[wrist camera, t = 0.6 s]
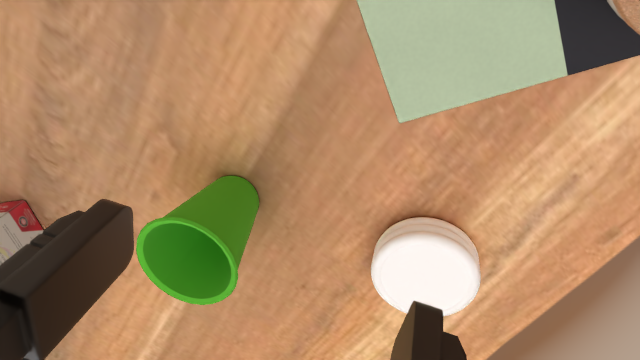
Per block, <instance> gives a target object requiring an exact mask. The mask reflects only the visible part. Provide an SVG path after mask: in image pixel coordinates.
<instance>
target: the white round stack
mask: <svg viewBox="0 0 640 360" xmlns="http://www.w3.org/2000/svg"><path fill="white" fill-rule="evenodd" d="M371 277H372V281H373V284H374V287H375V288H376V290H377V292H378V293H379V294H380V296H381V297H382V298H383V299H384V300H385V301H386V302H387V303H389V304H390V305H391V306H393V307H395V308H396V309H398V310H400V311H402V312H405V313H408V311H409V309H410V306H411V304H412V303H413V301H417V302H421V303H424V304H427V305H430V306H433V307H436V308H439V309H442V311H443V316H447V315H451V314H453V313H456V312H458V311H460V310H462V309H463V308H465V307H466V306H467V305H468V304H469V303H470V302H471V301H472V300H473V299H474V297H475V296H476V294H477V292H478V290H479V286H480V282H481V274H480V264H479V256H478V252H477V250H476V247H475V245H474V244H473V242H472V241H471V239H470V238H469V237H468V236H467V235H466V234H465V233H464V232H463V231H462V230H461V229H459V228H457V227H456V226H454V225H452V224H450V223H448V222H445V221H443V220H439V219H435V218H428V217H417V218H410V219H406V220H403V221H400V222H398V223H396V224H394V225H392V226H391V227H389V228H388V229H387V230H386V231H385V232H384V233H383V234H382V235H381V237H380V238H379V240H378V242H377V244H376V246H375V250H374V255H373V260H372V264H371Z"/></svg>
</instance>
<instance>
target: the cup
mask: <svg viewBox="0 0 640 360" xmlns="http://www.w3.org/2000/svg"><path fill="white" fill-rule="evenodd" d="M258 208H259V197H258V194H257V191H256V190H255V188H254V187H253V186H252V184H251V183H249V182H248V181H247V180H245V179H243V178H241V177H238V176H224V177H221V178H219V179H217V180H216V181H214V182H213V183H211V184H210V185H208V186H207V187H206V188H204V189H203V190H201V191H200V192H199V193H197V194H196V195H194V196H193V197H191V198H190V199H189V200H187V201H186V202H184V203H183V204H181V205H180V206H179V207H177V208H176V209H174V210H173V211H172V212H170V213H169V214H167V215H166V216H164V217H163V218H159V219H155V220H153V221H151V222H149V223H147V225H146V226H145V227H144V228H143V229H142V230H141V231H140V234H139V236H138V238H137V248H136V251H137V256H138V260H139V262H140V265H141V267H142V269H143V271H144V272H145V273H146V275H147V276H148V277H149V279H150V280H151V281H152V282H153V283H154V284H155V285H156V286H157V287H158V288H160V289H161V290H163V291H164V292H166V293H167V294H168V295H170V296H172V297H174V298H176V299H179V300H181V301H184V302H188V303H191V304H199V305H205V304H213V303H216V302H219V301H222V300H224V299H225V298H226V297H228V296H229V295H230V294H231V293H232V292H233V290H234V289H235V287H236V284H237V280H238V271H237V270H238V267H239V264H240V261H241V258H242V255H243V252H244V249H245V246H246V243H247V240H248V238H249V235H250V232H251V229H252V226H253V223H254V220H255V217H256V214H257V211H258Z"/></svg>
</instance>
